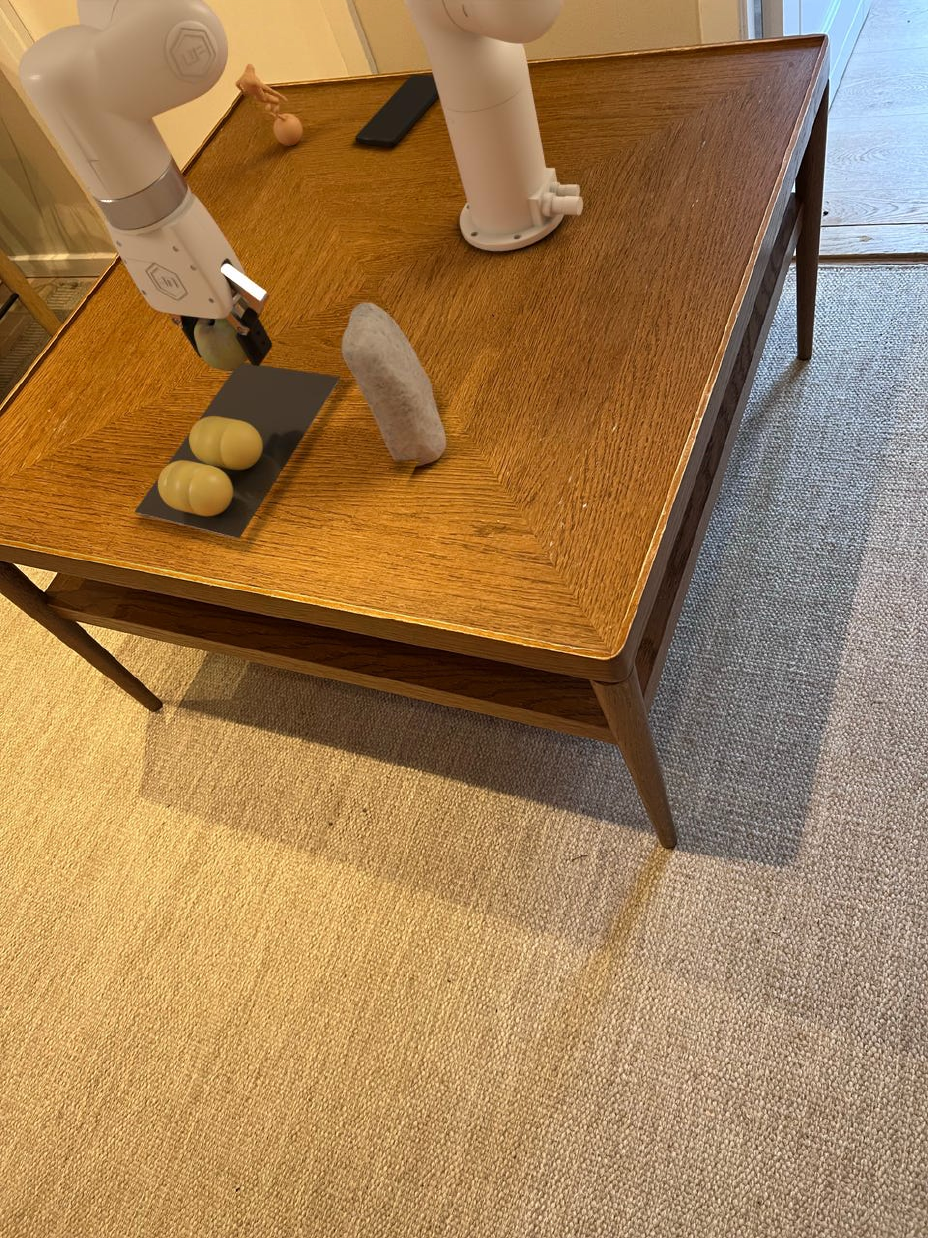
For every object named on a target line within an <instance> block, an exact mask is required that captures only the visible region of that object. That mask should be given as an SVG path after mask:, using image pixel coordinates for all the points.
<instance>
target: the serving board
mask: <svg viewBox="0 0 928 1238" xmlns="http://www.w3.org/2000/svg"><path fill="white" fill-rule="evenodd" d="M341 379H342V377H341V376H337V375H330V374H323V373H317V372H316V373H315V372H309V371H302V370H296V369H289V368H283V367H277V366H269V365H264V364H263V365H262V364H260V365H259V366H253V365H252V364H251V362H244V363H243V364H241V365H240V366H239V367H238V368H237V369H235V370H233V371H231V373H230V374H229V376H228V377H227V379H226V380H225V381H224V383H223V385H222V386H221V387H220V388H219V390H218V392H217V393H216V394H215V396H214V397H213V398H212V400H211V401H210V403H209V405H208V406H207V408H206V409H204V411H203V413H202V414H201V415H200V417H199V419H198V420H197V422H198V421H199V420H201V419H203V418H205V417H209V416H218V417H224V418H229V419H235V420H240V421H244V422H246V423H249V424H250V425H252V426H253V427H254V428H255V429H256V430H257V431H258V433H259V435H260V437H261V439H262V453H261V456H260V458H259V460H258V461H257V462H256V463H255V464H254V465H253V466H252V467H250V468H248V469H245V470H232V469H227V468H222V467H218V466H213V465H210V466H213V467H216V468H219V469H220V470H222V471H223V472H224V473H225V474H226V475H227V476H228V477H229V479H230V481H231V483H232V487H233V496H232V500H231V503H230V504H229V506H228V507H227V508H226V509H225V510H224V511H223V512H221V513H220V514H217V515H214V516H201V515H197V514H193V513H189V512H185V511H181V510H177V509H174V508H172V507H170V506H169V505H168V504H166V503H165V502H164V500H163V499H162V498H161V496H160V493H159V490H158V479H159V476H158V477H157V478H156V480H155V482H154V483H153V484H152V485H151V487H150V489H149V490H148V492H147V493H146V495H145V496H144V497H143V499H142V500H141V502H140V503H139V504H138V506H137V507H136V508H135V510H134V511H133V513H134V514H139V515H142V516H147V517H151V518H153V519H158V520H162V521H166V522H170V523H175V524H178V525H182V526H187V527H190V528H194V529H198V530H202V531H206V532H210V533H214V534H217V535H222V536H226V537H230V538H234V539H238V540H239V539H240V538H241V537H242V536H243V533H244V532H245V530H246V529H247V528H248V526H249V524H250V522H251V521H252V519H253V518H254V516H255V514H256V513H257V512H258V510H259V508H260V507H261V505H262V503H263V502H264V500H265V498H266V497H267V495H268V494H269V492H270V491H271V489H272V488H273V486H274V484H275V483H276V481H277V479H278V478H279V476H280V475H281V473H282V471H283V470H284V469H285V467H286V466H287V464H288V462H289V460H290V459H291V457H292V456H293V454H294V453H295V451H296V449H297V448H298V447H299V445H300V443H301V442H302V440H303V438H304V437H305V435H306V434H307V432H308V431H309V429H310V427H311V426H312V425H313V422H314V421H315V419H316V418H317V416H318V415H319V413H320V412H321V410H322V409H323V407H324V405H325V404H326V402H327V400H328V399H329V397H330V396H331V394H332V393H333V391H334V390H335V388H336V386H337V384H338V383H339V382H340V380H341ZM189 436H190V432H189V433H188V435H187V436H186V437H185V439H184V440H183V442H182V443H181V444H180V446H179V447H178V449H177V450H176V451H175V453H174V455H173V456H172V457H171V458H170V460H169V462H167V464H166V466H167V465H169V464H171V463H173V462H175V461H180V460H183V461H191V462H196V463H200V464H205V465H209V464H206V463H204V462H202V461H201V460H199V459H198V458H197V457H196V456H195V455H194V453H193V452H192V450H191V447H190V443H189Z"/></svg>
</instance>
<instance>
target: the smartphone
mask: <svg viewBox="0 0 928 1238" xmlns="http://www.w3.org/2000/svg"><path fill="white" fill-rule="evenodd" d="M438 98H439V94H438V90H437V87H436V83H435V80H434V76H433V75H427V74H426V75H425V74H412V75H410V76H409V77H408V78H407V79H406V80H405V81H404V82H403V84H402V85H401V86H400V87H399V88H398V89H397V90H396V91H395V93H393V94H392V96H391V97H390V98H389V99H388V100H387V101H386V102H385V103H384V104H383V105H382V106H381V107H380V108H379V110H378V111H377V112H376V113H375V114H374V115H373V117H371V119H370V120H369V121H368V122H367V123H366V124H365V125H364V126H363V127H362V128H361V130H360V131H359V132H358V133H357V134H356V135H355V141H356V143H358V144H364V145H374V146H382V147H395V146H397V144H398V143H399V142H400V141H401V140H402V139H403V138H404V136H405V135H406V134H407V133H408V132H409V131H410V129H411V128H412V127H413V126H414V125H416V123H417V122H418V120H420V118H421V117H422V116H423V115H424V114H425V113H426V111H428V109H429V108H430V107H431V106H432V104H434V102H435V101H437V99H438Z"/></svg>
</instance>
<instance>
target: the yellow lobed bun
mask: <svg viewBox="0 0 928 1238" xmlns="http://www.w3.org/2000/svg"><path fill="white" fill-rule="evenodd" d="M198 420H199V419H198ZM198 420H197V421H196V422H195V424H194V425H193V426H192V428H191V429H190V431H189V433H190V436H189V443H190V447H191V450H192V452H193V453H194V455H195V456H196V457H197V458H198V459H199V460H201V461H202V462H204V463H206V464H209V465H213V466H218V467H222V468H227V469H232V470H245V469H248V468H250V467H252V466H253V465H254V464H255V463H256V462H257V461H258V460H259V458H260V456H261V453H262V439H261V437H260V435H259V433H258V431H257V430H256V429H255V428H254V427H253V426H252V425H250V424H249V423H246V422H244V421H240V420H235V419H229V418H224V417H218V416H209V417H205V418H203V419H201V420H199V421H198Z"/></svg>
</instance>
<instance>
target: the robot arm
mask: <svg viewBox="0 0 928 1238" xmlns="http://www.w3.org/2000/svg"><path fill="white" fill-rule="evenodd" d="M403 2H404V5H405V8H406V10H407V12H408V14H409V17H410V19H411V21H412V24H413V25H414V27H415V30H416V32H417V34H418V36H419V39H420V41H421V43H422V46H423V48H424V51H425V54H426V57H427V60H428V63H429V66H430V69H431V73H432V76H434V80H435V83H436V87H437V90H438V94H439V97H438V98H439V102H440V105H441V109H442V113H443V117H444V121H445V123H446V127H447V131H448V135H449V137H450V143H451V145H452V146H451V147H452V149H453V153H454V157H455V161H456V165H457V168H458V172H459V176H460V180H461V183H462V187H463V191H464V194H465V198H466V201H467V203H465V205H464V207H463V209H462V210H461V211H460V212H461V213H460V216H459V226H460V230H461V234H462V236H463V238H464V239H465V241H467V242H468V244H470V245H471V246H473V247H475V248H478V249H481V250H483V251H488V252H489V251H490V252H508V251H513V250H517V249H522V248H524V247H527V246H531V245H533V244H534V243H536V242H538V241H540V240H542V239H544V238H545V237H546V236H548V235H549V234H550V233H551V232H553V231H554V230H555V229H557V227H558V226H559V224H560V223H561V222H562V220H563V218H564V216H581V214H582V212H583V207H584V202H583V197H582V196H580V193H581V188H580V185H579V184H571V183H568V184H562V183H561V182H560V181H558V179H557V173H556V168H555V167H547V165H546V160H545V154H544V149H543V144H542V137H541V131H540V128H539V127H540V126H539V122H538V117H537V111H536V110H537V109H536V105H535V99H534V95H533V94H534V93H533V89H532V83H531V78H530V70H529V66H528V60H527V55H526V51H525V47H524V44H529V43H531V42H534V41H537V40H540V39H541V38H542V37H543V36H544V35H545V34H547V33H548V31H550V29H551V28H552V27H553V25H554V24H555V22H556V21H557V19H558V17H559V15H560V12H561V10H562V7H563V4H564V2H565V0H403ZM76 8H77V15H78V20H79V21H78V22H79V24H73V25H72V24H71V25H67V26H64V27H60V28H58V29H55V30H53V31H51V32H49V33H47V34H45V35H44V36H42V37H40V38H39V39H37V40H36V41H35V42H33V43H32V44H31V45H30V46H29V47H28V48H26V50H25V52H24V53H23V54H22V55H21V58H20V61H19V63H18V77H19V81H20V85H21V86H22V88H23V90H24V91H25V93H26V95H27V97H28V98H29V100H30V101H31V103H32V104H33V106H34V108H35V109H36V111H37V112H38V114H39V116H40V117H41V118H42V120H43V121H44V123H45V125H46V126H47V128H48V129H49V131H50V132H51V134H52V136H53V137H54V139H55V140H56V142H57V143H58V145H59V146H60V148H61V149H62V151H63V153H64V154H65V156H66V157H67V159H68V160H69V162H70V163H71V165H72V167H73V168H74V170H75V171H76V173H77V175H78V176H79V178H80V179H81V181H82V183H83V184H84V186H85V187H86V188H87V190H88V191H89V193H90V194H91V196H92V198H93V199H94V201H95V203H96V204H97V206H98V207H99V209H100V210H101V212H102V214H103V215H104V216H105V217H104V223H105V225H106V228H107V231H108V234H109V236H110V238H111V240H112V243H113V245H114V247H115V249H116V252H117V254H118V255H119V257H120V259H121V261H122V263H123V264H124V266H125V268H126V270H127V272H128V274H129V275H130V277H131V278H132V280H133V282H134V284H135V285H136V289H137V290H138V291H139V292H140V293H141V295H142V296H143V299H144V300H145V301H146V303H147V304H148V305H149V306H150V307H151V308H152V309H153V310H155V311H158V312H160V313H164V314H168V315H169V317H170V320H171V322H172V324H174V325H175V326H176V327H180V328H181V331H182V332H183V334H184V336H185V337H186V338H187V341H188V342H189V344H190V345H191V346H192V348H193V350H194V351H195V352H196V354H197V356H198V357H199V358H200V359H201V358H202V357H201V355H200V353H199V351H198V348H197V344H196V340H195V336H194V329H195V326H196V324H197V322H198V320H199V318H209V319H224V318H225V319H226V320H227V321H228V322H229V323H230V324H231V325H232V326H233V327H234V328H235V329H236V330H237V331H238V333H237V335H236V338H237V340H238V342H239V344H240V345H241V347H242V349H243V350H244V352H245V354H246V356H247V357H248V361H249V363H250V364H252V365H253V366H259V365H262V362H263V361H264V359H265V358H266V356H267V355H268V354H269V352H270V351H271V349H272V347H273V343H272V340H271V339H270V337H269V334H268V333H267V331H266V329H265V328H264V326H263V324H262V322H261V320H260V317H261V316H262V312H263V310H264V309H265V306H266V304H267V303H268V300H269V299H270V295H269V293H268V292H267V291H266V290H265V289H264V288H262V287H261V286H259V285H258V284H257V283H255V282H254V281H252V280H251V279H250V278H249V277H247V274H246V272H245V270H244V267H243V266H242V264H241V262H240V260H239V258H238V257H237V255H236V253H235V251H234V250H233V248H232V246H231V244H230V243H229V241H228V239H227V237H226V236H225V235H224V233H223V232H222V230H221V229H220V227H219V225H218V224H217V223H216V221H215V219H214V218H213V217H212V215H211V214H210V212H209V211H208V210H207V208H206V207H205V206H204V203H202V202H201V200H200V199H199V197H198V196H196V194H195V193H192V190H191V188H190V185H189V184H188V182H187V181H186V179H185V177H184V175H183V173H182V171H181V169H180V168H179V165H178V164H177V162H176V160H175V158H174V155H172V153H171V151H170V149H169V147H168V145H167V144H166V142H165V140H164V138H163V136H162V134H161V132H160V131H159V128H158V126H157V125H156V122H155V120H154V119H153V118H155V117H156V116H160V115H161V114H164V113H166V112H168V111H171V110H173V109H176V108H178V107H181V106H184V105H186V104H188V103H190V102H193V101H195V100H197V99H199V98H201V97H202V96H204V95H205V94H206V93H208V92H209V91H210V90H211V89H212V88H214V87H215V85H216V84H217V83H218V82H219V81H220V80H221V77H222V76H223V73H224V72H225V69H226V66H227V63H228V57H229V44H228V43H229V42H228V38H227V33H226V30H225V27H224V24H223V23H222V21H221V19H220V18H219V16H218V15H217V13H216V12H215V11H214V9H212V7H211V6H210V5H209V4H207V3H206V2H205V1H204V0H76ZM235 305H238V306H240V307H241V308H242V309H243V310H244V313H243V315H242V317H241V318H240V317H239V316H238V315H237V314H236V313H235V311H234V310H233V308H234V306H235ZM202 359H203V358H202Z"/></svg>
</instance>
